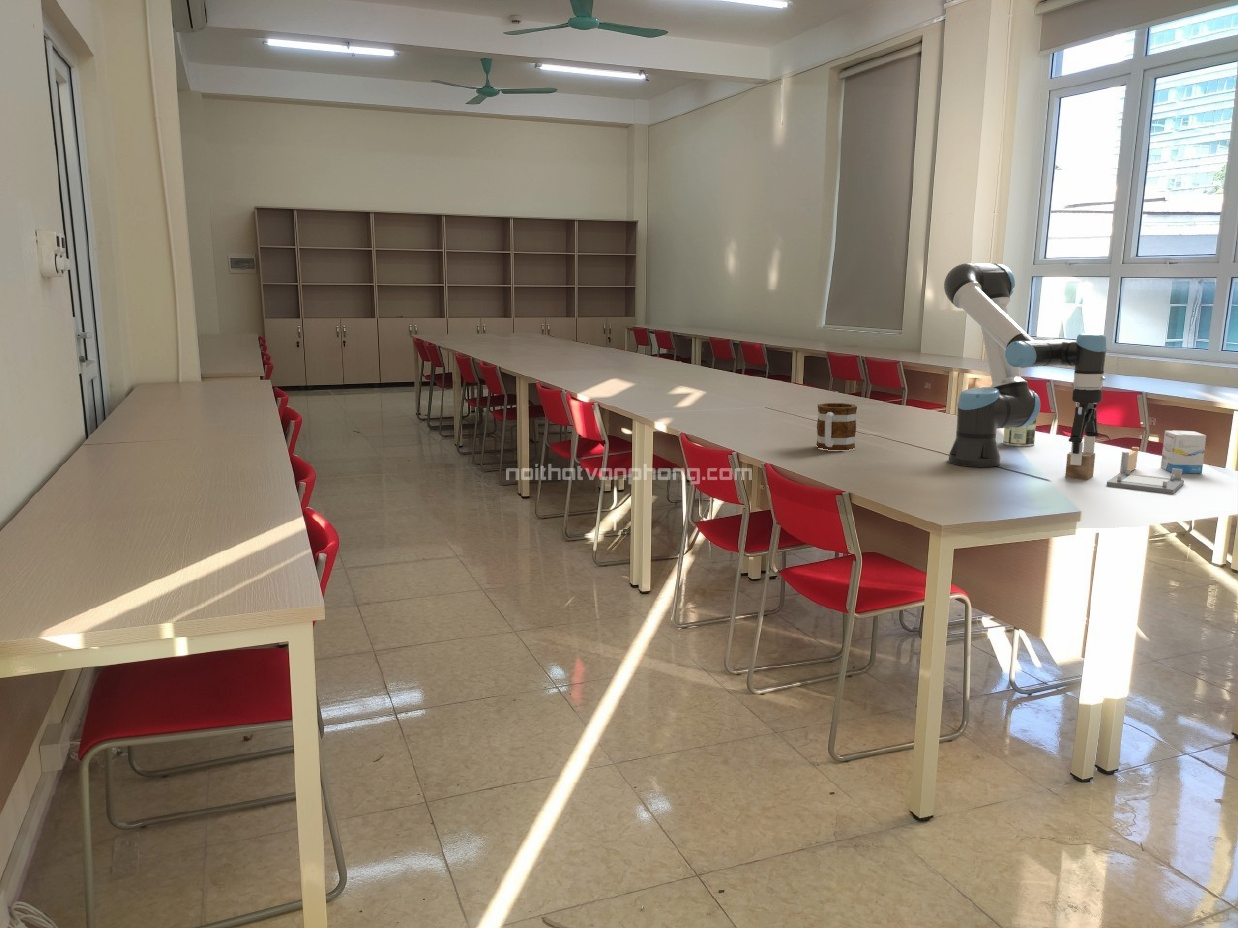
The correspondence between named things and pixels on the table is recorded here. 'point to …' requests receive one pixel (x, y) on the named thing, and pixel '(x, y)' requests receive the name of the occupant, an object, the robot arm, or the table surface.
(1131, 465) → the lid gate
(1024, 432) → the coffee can
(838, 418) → the mug
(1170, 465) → the ink box
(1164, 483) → the housing
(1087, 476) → the walnut block
